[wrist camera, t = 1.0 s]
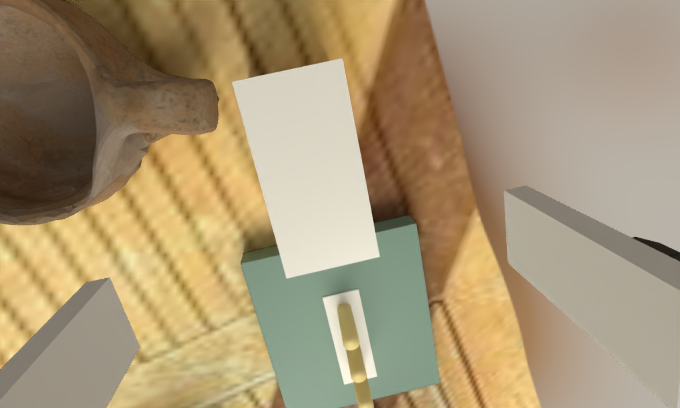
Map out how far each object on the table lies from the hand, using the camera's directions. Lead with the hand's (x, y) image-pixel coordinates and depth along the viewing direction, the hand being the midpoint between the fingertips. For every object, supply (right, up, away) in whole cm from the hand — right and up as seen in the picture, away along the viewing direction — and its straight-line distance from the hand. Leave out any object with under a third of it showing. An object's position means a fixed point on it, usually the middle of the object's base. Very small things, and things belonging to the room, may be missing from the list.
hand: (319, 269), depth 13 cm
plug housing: (-2, +6, +17) cm, 19 cm away
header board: (+1, -8, +22) cm, 24 cm away
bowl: (-16, +10, +15) cm, 24 cm away
